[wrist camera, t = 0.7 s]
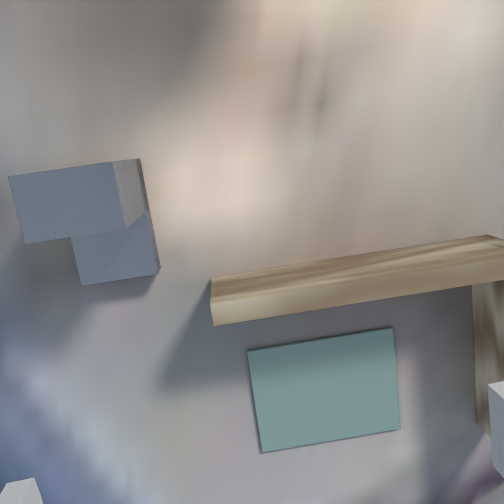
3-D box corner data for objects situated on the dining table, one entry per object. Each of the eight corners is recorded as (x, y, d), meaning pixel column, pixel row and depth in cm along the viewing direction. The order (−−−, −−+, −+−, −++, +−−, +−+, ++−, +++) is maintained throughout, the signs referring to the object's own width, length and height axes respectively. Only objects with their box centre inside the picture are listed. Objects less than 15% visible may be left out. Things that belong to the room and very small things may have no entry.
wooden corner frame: (211, 277, 39) (210, 304, 33) (487, 234, 40) (542, 252, 34) (242, 463, 43) (246, 521, 37) (493, 420, 44) (543, 469, 38)
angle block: (63, 169, 37) (8, 176, 27) (139, 158, 37) (112, 161, 27) (88, 279, 39) (45, 322, 29) (160, 267, 39) (141, 307, 29)
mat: (246, 350, 41) (246, 351, 41) (391, 326, 42) (392, 328, 41) (262, 450, 43) (262, 452, 43) (399, 426, 44) (400, 428, 44)
